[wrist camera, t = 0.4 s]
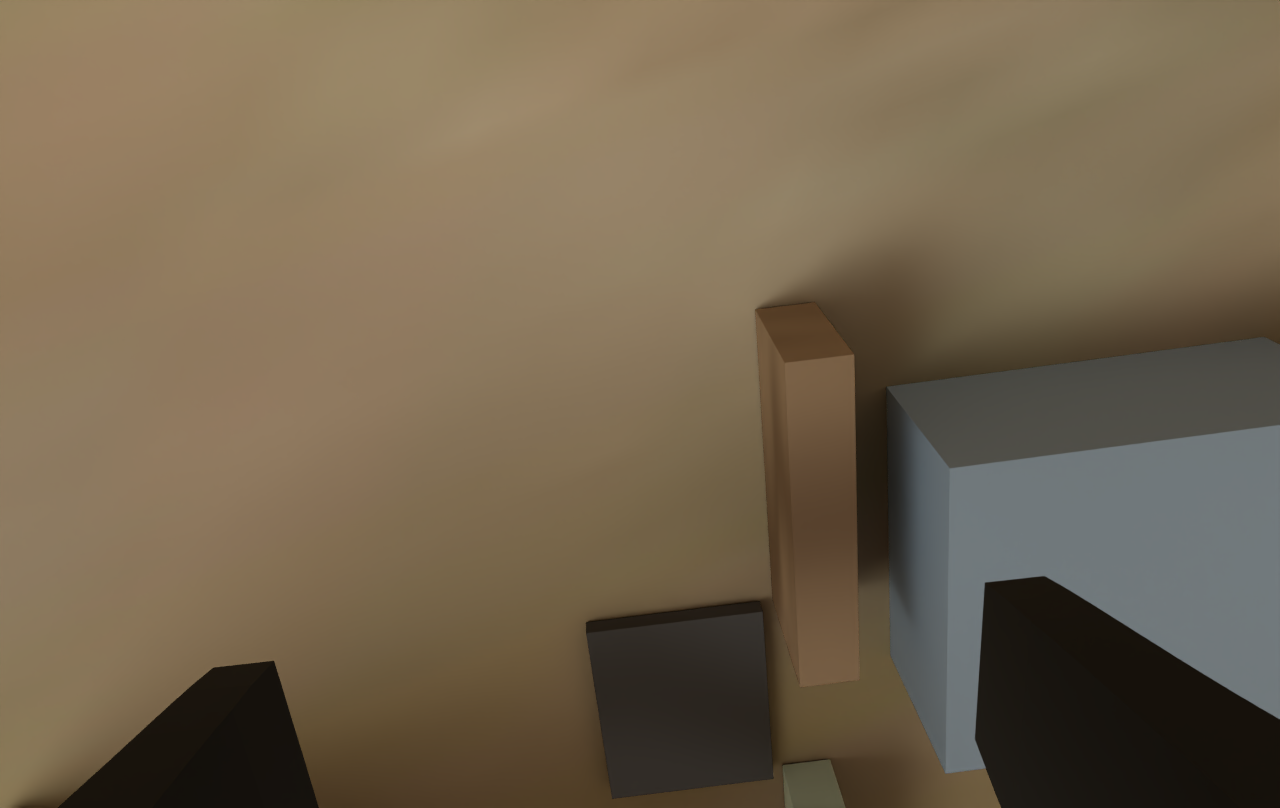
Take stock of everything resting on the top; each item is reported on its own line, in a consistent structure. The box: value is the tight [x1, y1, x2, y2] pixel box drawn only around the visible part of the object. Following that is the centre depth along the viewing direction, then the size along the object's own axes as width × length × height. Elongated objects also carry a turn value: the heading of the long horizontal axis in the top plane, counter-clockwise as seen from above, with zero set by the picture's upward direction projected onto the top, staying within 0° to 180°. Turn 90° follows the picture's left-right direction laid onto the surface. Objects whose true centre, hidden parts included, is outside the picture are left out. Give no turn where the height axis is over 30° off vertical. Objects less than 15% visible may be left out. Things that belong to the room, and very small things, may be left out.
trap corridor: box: [586, 302, 860, 808], centre depth 21 cm, size 18×22×3 cm
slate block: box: [886, 337, 1280, 774], centre depth 20 cm, size 7×8×4 cm
